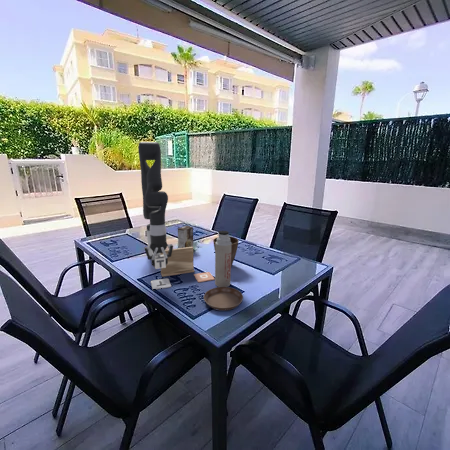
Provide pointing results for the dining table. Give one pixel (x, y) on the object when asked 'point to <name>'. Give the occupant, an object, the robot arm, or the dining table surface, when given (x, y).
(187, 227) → the coffee box
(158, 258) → the letter cube
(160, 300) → the dining table surface
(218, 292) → the plant saucer
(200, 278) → the pad
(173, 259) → the screen
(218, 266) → the thermos bottle
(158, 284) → the pad
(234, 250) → the plant pot
